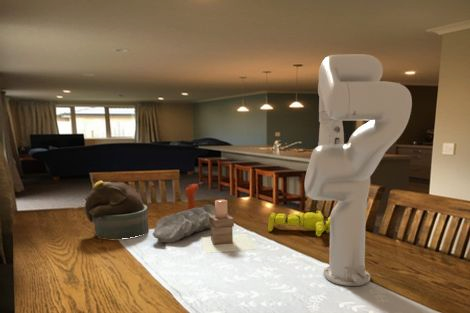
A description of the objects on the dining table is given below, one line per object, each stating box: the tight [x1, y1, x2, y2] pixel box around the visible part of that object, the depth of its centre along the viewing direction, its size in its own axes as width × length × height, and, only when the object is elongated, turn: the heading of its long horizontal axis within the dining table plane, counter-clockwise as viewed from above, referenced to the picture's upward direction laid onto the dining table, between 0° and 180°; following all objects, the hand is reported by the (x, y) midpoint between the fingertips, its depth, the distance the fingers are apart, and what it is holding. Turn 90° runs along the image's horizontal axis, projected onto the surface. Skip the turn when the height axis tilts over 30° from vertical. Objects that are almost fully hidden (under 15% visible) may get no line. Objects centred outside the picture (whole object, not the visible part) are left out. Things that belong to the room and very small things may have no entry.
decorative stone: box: [152, 204, 215, 244], centre depth 145 cm, size 32×15×10 cm, turn 147°
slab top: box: [209, 214, 235, 229], centre depth 134 cm, size 7×7×3 cm
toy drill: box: [184, 181, 203, 210], centre depth 184 cm, size 5×19×15 cm, turn 162°
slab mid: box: [210, 226, 234, 237], centre depth 134 cm, size 7×7×3 cm
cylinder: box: [214, 199, 228, 219], centre depth 133 cm, size 4×4×6 cm
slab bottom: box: [210, 232, 234, 245], centre depth 134 cm, size 7×7×3 cm
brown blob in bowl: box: [84, 180, 150, 239], centre depth 148 cm, size 23×25×22 cm
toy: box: [267, 210, 330, 237], centre depth 149 cm, size 30×9×30 cm
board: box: [200, 233, 259, 254], centre depth 133 cm, size 18×18×1 cm
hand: (329, 168), depth 124 cm, fingers open, 9 cm apart
